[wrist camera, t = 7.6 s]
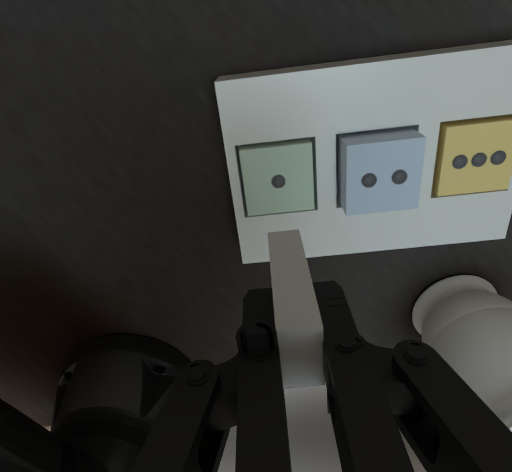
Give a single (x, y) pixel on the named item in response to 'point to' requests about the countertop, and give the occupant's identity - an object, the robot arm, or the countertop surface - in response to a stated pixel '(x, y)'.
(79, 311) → the countertop surface
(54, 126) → the countertop surface
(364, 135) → the tile two
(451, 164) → the tile three
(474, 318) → the jar
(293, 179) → the tile one
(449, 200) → the button board
